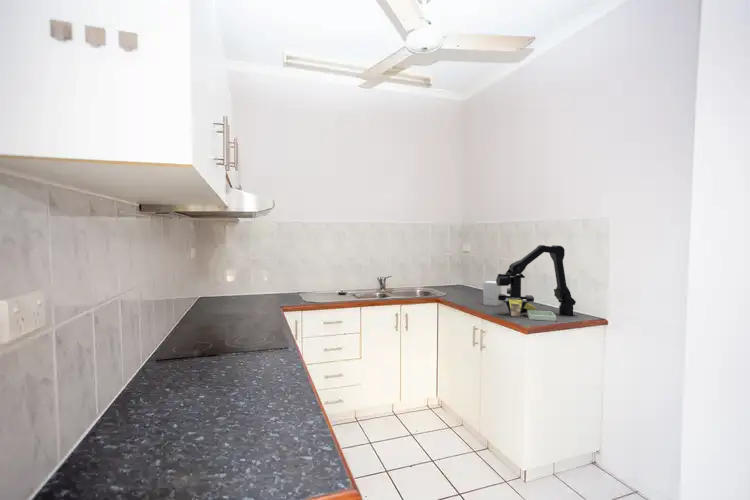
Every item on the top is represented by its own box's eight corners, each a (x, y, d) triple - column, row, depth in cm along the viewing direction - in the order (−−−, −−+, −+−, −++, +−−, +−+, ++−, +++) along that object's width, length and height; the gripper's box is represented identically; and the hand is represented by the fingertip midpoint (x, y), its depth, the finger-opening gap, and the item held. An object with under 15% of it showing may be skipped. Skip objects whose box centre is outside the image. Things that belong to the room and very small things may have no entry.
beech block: (519, 314, 211) (519, 304, 211) (519, 316, 207) (520, 305, 207) (510, 314, 213) (511, 303, 212) (511, 315, 208) (511, 305, 208)
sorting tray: (552, 315, 207) (552, 311, 207) (556, 321, 195) (556, 316, 194) (527, 314, 211) (527, 310, 211) (529, 319, 198) (529, 315, 198)
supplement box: (501, 304, 241) (501, 281, 241) (496, 306, 235) (496, 283, 234) (488, 302, 247) (488, 280, 247) (482, 304, 240) (482, 281, 240)
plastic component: (537, 308, 217) (523, 301, 216) (531, 319, 217) (517, 312, 216) (522, 299, 236) (508, 293, 235) (516, 310, 237) (503, 303, 236)
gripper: (531, 284, 214) (531, 310, 215) (497, 283, 219) (497, 309, 220) (534, 287, 203) (533, 315, 204) (498, 285, 209) (498, 313, 209)
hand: (515, 313), depth 210 cm, fingers open, 6 cm apart
